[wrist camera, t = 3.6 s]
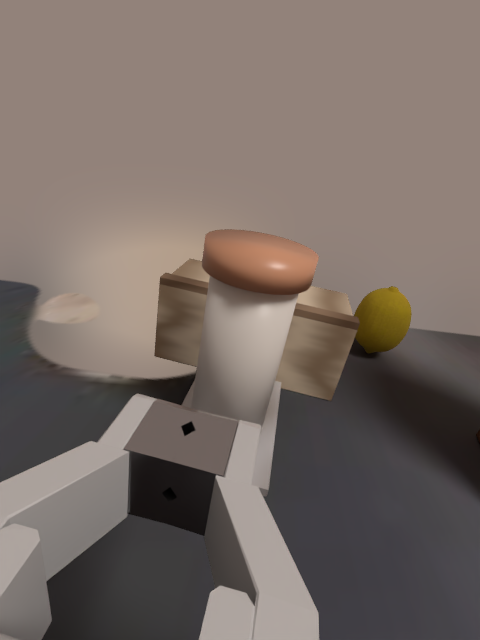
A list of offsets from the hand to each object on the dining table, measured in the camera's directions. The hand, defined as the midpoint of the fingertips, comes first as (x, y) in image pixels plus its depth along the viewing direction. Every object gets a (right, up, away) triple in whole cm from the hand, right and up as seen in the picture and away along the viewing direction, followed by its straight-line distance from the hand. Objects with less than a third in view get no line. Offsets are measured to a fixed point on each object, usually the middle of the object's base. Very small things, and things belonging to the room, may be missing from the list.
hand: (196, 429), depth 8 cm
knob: (0, -5, +16) cm, 17 cm away
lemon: (+15, -1, +30) cm, 34 cm away
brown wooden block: (+1, -3, +21) cm, 21 cm away
